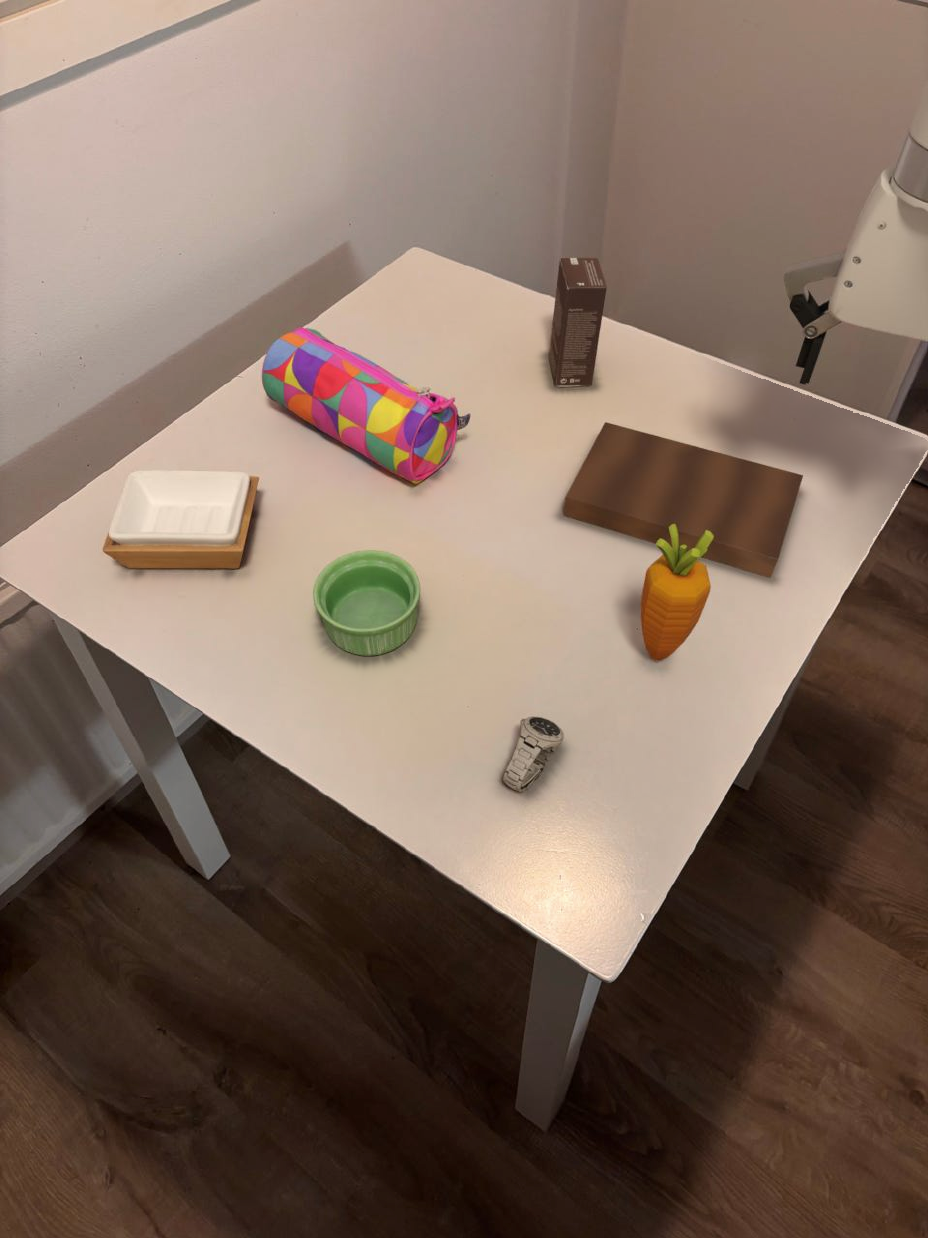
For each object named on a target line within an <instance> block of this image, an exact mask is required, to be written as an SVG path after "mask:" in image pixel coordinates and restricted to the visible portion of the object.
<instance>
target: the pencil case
mask: <svg viewBox="0 0 928 1238" xmlns="http://www.w3.org/2000/svg"><path fill="white" fill-rule="evenodd" d="M261 368H262V369H261V384H262V387H263V390H264V392H265V395H267V397H268V398H269V399H270V400H271V401H273V402H275V403H276V404H277V405H278V404H279V405H280V406H282V407H284V408H285V409H287V410H289V411H291V412H292V413H293V414H295V415H297V417H300V418H301V419H302V420H304V421H305V422H306V423H309V424H311V425H312V426H314V427H315V428H317V429H318V430H319V431H321V432H323V433H325V434H327V435H328V436H329V437H330V438H333V439H335V440H337V441H339V442H340V443H342V444H344V445H345V446H347V447H348V448H350V449H352V450H354V451H356V452H358V453H359V454H361V455H362V456H364V457H365V458H367V459H369V460H370V461H372V462H374V463H376V465H378V466H380V467H382V468H383V469H385V470H387V471H388V472H390V473H392V474H394V475H396V476H399V477H401V478H403V479H405V480H406V481H409V482H411V483H413V484H419V483H421V482H423V481H424V480H425V479H427V478H428V477H430V476H431V475H432V474H434V473H435V472H436V471H438V470H439V469H440V468H441V467H443V466H444V465H445V463H446V462H447V461H448V460H449V458H450V456H451V454H452V452H453V450H454V447H455V443H456V439H457V434H458V431H460V430H463V429H464V428H466V427H467V426H468V425H469V423H470V421H471V413H467V414H464V415H462V416H459V411H458V408H457V406H456V404H455V401H456V397H451V398H449V399H448V398H447V397H445V396H443V395H440V394H437V393H435V392H434V393H432V392H430V390H431V387H427V386H426V387H420V388H416V387H414V386H412V385H410V384H409V383H407V382H406V381H404V380H402V379H401V378H399V377H397V376H396V375H394V374H393V373H391V372H390V371H388V370H387V369H385V368H383V366H382V367H381V365H379V364H377V363H376V362H373V361H372V360H370V359H369V358H366V357H365V356H363V355H362V354H359V353H357V352H354V351H351V350H348V349H346V348H345V347H343V346H340V345H338V344H336V343H335V342H332V341H331V340H330V339H328V338H327V337H326V336H324V335H322V333H321V332H320V331H318V330H317V329H313V328H309V327H302V326H300V327H297V328H296V329H295V330H294V331H289V332H287V333H285V334H283V335H282V336H280V337H279V338H278V339H276V340H275V341H274V342H273V343H272V344H271V345H270V347H269V348H268V350H267V352H266V354H265V356H264V360H263V363H262V367H261Z"/></svg>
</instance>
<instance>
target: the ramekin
mask: <svg viewBox="0 0 928 1238" xmlns="http://www.w3.org/2000/svg"><path fill="white" fill-rule="evenodd" d="M420 583H421V582H420V580H419V576H418V574H417V572H416V571H415V569H414V567H412V566H411V564H410V563H409V562H407V560H405V559H403V558H402V557H400V556H398V555H396V554H394V553H392V552H388V551H384V550H378V549H367V550H366V549H365V550H358V551H354V552H349V553H346V554H344V555H341V556H340V557H338V558H336V559H334V560H332V562H329V564H327V565H326V566H325V567H324V568H323V569H322V571H321V572H320V573H319V574H318V576H317V577H316V580H315V582H314V586H313V590H312V598H313V603H314V606H315V608H316V611H317V612H318V614H319V616H320V617H321V619H322V622H323V625H324V629H325V630H326V631H325V632H326V634H327V635H328V637H329V638H330V640H331V641H332V642H333V643H334V645H336V647H338V648H339V649H341V650H343V651H345V652H347V653H349V654H353V655H356V656H362V657H363V656H364V657H372V656H380V655H383V654H384V655H385V654H387V653H390V652H392V651H394V650H395V649H398V648H399V647H400V646H402V645H403V644H404V643H405V642H406V641H407V640H408V639H409V638H410V636H411V635H412V634H413V632H414V630H415V627H416V625H417V619H418V605H419V601H420V596H421V585H420Z"/></svg>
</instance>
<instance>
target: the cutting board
mask: <svg viewBox="0 0 928 1238" xmlns="http://www.w3.org/2000/svg"><path fill="white" fill-rule="evenodd" d="M803 478H804V475H803V474H800V473H797V472H794V471H793V472H792V471H788V470H786V469H781V468H778V467H774V466H770V465H766V464H762V463H759V462H755V461H752V460H747V459H744V458H740V457H737V456H733V455H729V454H725V453H721V452H718V451H715V450H711V449H708V448H704V447H699V446H696V445H692V444H689V443H685V442H682V441H677V440H674V439H669V438H666V437H662V436H659V435H655V434H652V433H648V432H644V431H640V430H637V429H633V428H629V427H625V426H623V425H622V426H621V425H617V424H615V423H610V422H607V421H605V422H604V423H603V426H602V427H601V429H600V431H599V433H598V435H597V437H596V439H595V441H594V443H592V446H591V448H590V450H589V452H588V453H587V455H586V457H585V460H584V461H583V463H582V465H581V467H580V469H579V471H578V472H577V474H576V477H575V478H574V480H573V482H572V484H571V485H570V488H569V490H568V491H567V493H566V495H565V499H564V506H563V517H566V518H569V519H573V520H577V521H580V522H583V523H586V524H590V525H594V526H596V527H600V528H603V529H607V530H610V531H614V532H616V533H620V534H623V535H627V536H630V537H633V538H637V539H640V540H643V541H647V542H649V543H653V544H656V543H657V541H658V540H659V539H663V540H665V541H666V542H667V543H669V545H670V546H671V547H672V540H671V535H670V531H669V526H670V525H672V524H676V527H677V531H678V537H679V551H680V546H681V545H686V546H687V552H688V551H689V550H691V549H692V548H695V546H696V544H697V543H698V541H699V539H700V538H701V537H702V535H703V534H704V532H705V531H706V530H708V531H710V532H711V533H712V534H713V535H714V538H713V540H712V541H711V543H710V544H709V546H708V548H707V551H706V552H705V553H704V554H703V555H702V556H701V557H700V558H703V559H707V560H710V561H713V562H717V563H719V564H722V565H723V564H724V565H726V566H730V567H733V568H736V569H740V570H743V571H745V572H749V573H753V574H756V575H759V576H763V577H767V578H770V579H772V576H773V573H774V571H775V568H776V566H777V563H778V561H779V558H780V555H781V551H782V548H783V544H784V541H785V538H786V534H787V531H788V528H789V525H790V521H791V518H792V514H793V511H794V508H795V504H796V501H797V498H798V494H799V491H800V488H801V485H802V481H803ZM687 552H686V553H687Z"/></svg>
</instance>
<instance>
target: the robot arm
mask: <svg viewBox="0 0 928 1238" xmlns="http://www.w3.org/2000/svg"><path fill="white" fill-rule="evenodd" d="M831 278H835V279H834V282H833V286H832V289H831V293H830V296H828V297H827V298H826V299H824V300H823V301H821V302H819V303H818V302H817V301H816V300H815V298H814V296H813V295H812V292H810V290H809V288H808V284H810V283H814V282H817V281H822V280H828V279H831ZM783 282H784V285H785V290H786V295H787V298H788V299H789V309H790V311H791V312H792V314H793V315H794V317H795V318H796V320H797V321H798V323H799V325H800V326H801V328H802V335H803V336H804V338H803V342H802V345H801V348H800V351H799V354H798V357H797V359H796V363H795V367H798V368H801V369H803V371H802V373H801V377H800V379H799V385H804V386H806V385H807V384H810V381H811V378H812V376H813V372H814V370H815V367H816V364H817V361H818V358H819V356H820V353H821V350H822V347H823V344H824V341H825V338H826V335H827V332H828V331H829V330H831V329H833V328H834V327H836V326H837V325H839V324H841V323H844V324H846V325H850V326H854V327H858V328H862V329H863V328H864V329H865V330H872V331H875V332H880V333H885V334H889V335H893V336H897V337H903V338H908V339H913V340H917V341H921V342H926V343H928V76H927V78H926V80H925V84H924V85H923V89H922V92H921V94H920V97H919V99H918V103H917V105H916V108H915V111H914V114H913V117H912V120H911V123H910V126H909V129H908V131H907V134H906V136H905V140H904V143H903V145H902V148H901V151H900V153H899V156H898V159H897V161H896V164H895V165H892V166H889V167H886V168H885V169H884V170H883V171H882V172H881V173H880V175H879V177H878V178H877V180H876V181H875V183H874V185H873V187H872V189H871V191H870V193H869V195H868V196H867V199H866V201H865V202H864V205H863V207H862V209H861V211H860V214H859V216H858V218H857V220H856V223H855V225H854V228H853V230H852V233H851V235H850V238H849V241H848V243H847V246H846V248H845V249H844V250H843V251H840V252H836V253H832V254H828V255H822V256H819V257H815V258H811V259H806V260H803V261H798V262H794V263H791V264H789V265H788V266H787V268H786V271H785V274H784V275H783ZM926 404H927V405H926V409H925V412H926V413H928V403H926Z"/></svg>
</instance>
